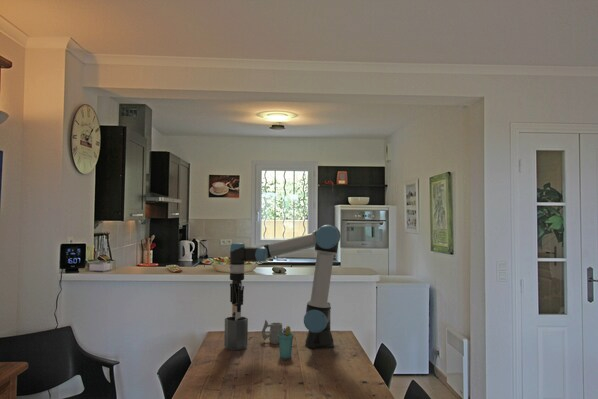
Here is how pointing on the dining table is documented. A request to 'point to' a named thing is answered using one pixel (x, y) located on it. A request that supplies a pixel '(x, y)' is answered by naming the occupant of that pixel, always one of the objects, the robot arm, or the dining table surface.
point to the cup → (285, 343)
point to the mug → (272, 331)
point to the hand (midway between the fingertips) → (236, 317)
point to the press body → (236, 333)
